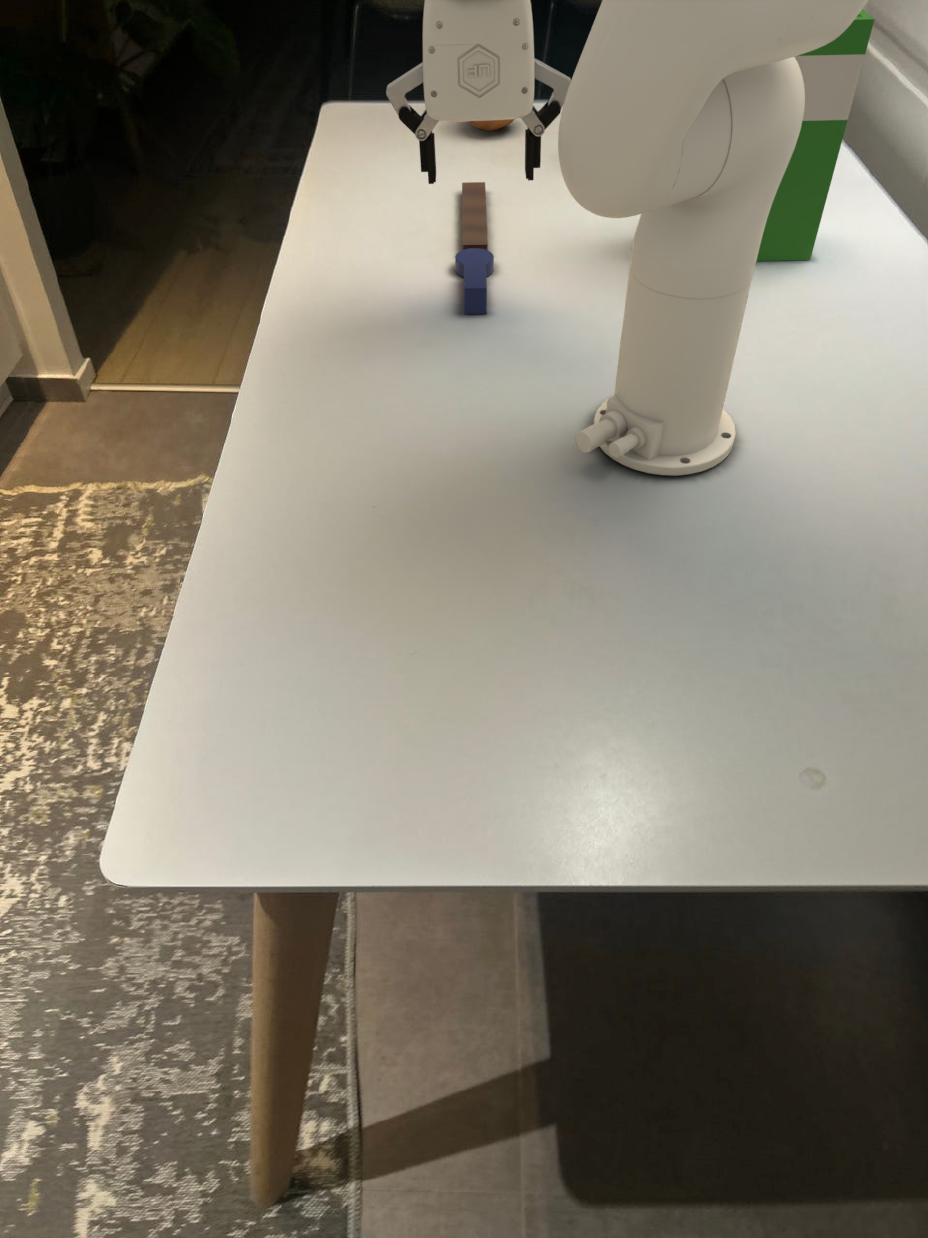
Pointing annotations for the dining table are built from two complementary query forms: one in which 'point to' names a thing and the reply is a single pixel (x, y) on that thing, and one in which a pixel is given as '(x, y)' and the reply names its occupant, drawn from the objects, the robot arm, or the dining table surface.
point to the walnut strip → (474, 216)
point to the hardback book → (816, 143)
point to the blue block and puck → (474, 277)
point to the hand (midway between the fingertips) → (480, 176)
